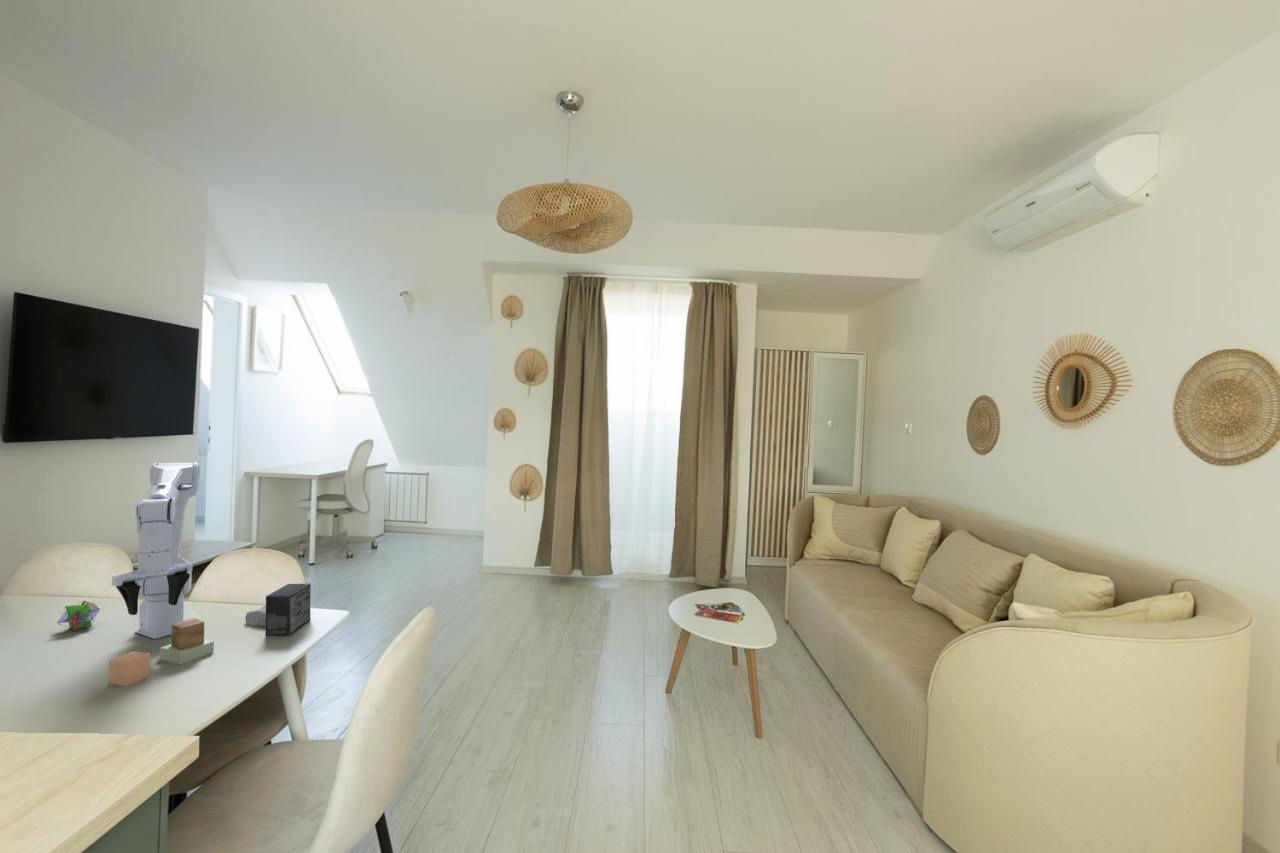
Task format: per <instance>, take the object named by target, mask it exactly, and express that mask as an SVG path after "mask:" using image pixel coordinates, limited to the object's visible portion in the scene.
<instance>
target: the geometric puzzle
mask: <svg viewBox="0 0 1280 853" xmlns="http://www.w3.org/2000/svg"><path fill="white" fill-rule="evenodd" d="M75 604H76V603H74V605H66V606H64V613H62V615H61V616H60V617H59V619H58V620H57V622H56V624H58V625H59V626H61V627H62V626H63V627H65V628H66V629H68V630H70V631H72V632H73V633H75V632H77V631H79V629H80V628H81V629H82V628H83V627H92V626H93V624H92V623H94V620H95V618H96V616H97V615H98V614H99V612H100V610H101V609H100V607H98V605H97V604H95V603H94V602H92V601H91V602H89V601H87V600H86V601H85V600H82V602H78V604H76V605H75ZM64 623H68V626H67V625H65V624H64Z"/></svg>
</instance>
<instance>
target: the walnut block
mask: <svg viewBox="0 0 1280 853" xmlns="http://www.w3.org/2000/svg"><path fill="white" fill-rule="evenodd" d="M170 635H171V636H170V637H171V638H170V640H171V641H170V644H171V646H173V647H175V648H177V649H180V650H182V649H186V648H189V647H193V646H196V645H199V644H203V643H204V639H205V621H203V620H200V619H198V618H197V617H196V618H195V617H194V618H193V617H192V618H191V619H185V620H183V621H181V622H178V623H174V624H172V627H171V634H170Z"/></svg>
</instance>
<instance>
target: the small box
mask: <svg viewBox="0 0 1280 853" xmlns="http://www.w3.org/2000/svg"><path fill="white" fill-rule="evenodd" d="M311 588H312V587H311V583H287V584H286V585H284V586H282V587H280V588H279V589H276V590H274V591H273V592H272V593H269V594H267V595H266V596H265V606H266V626H265V629H264V630H265V631H264V632H265V633H264V634H265V637H285V636H286V637H290V636H292V635H293V634H295V633H296V632H298V630H300V629H301V628H303V627H304V626H306V624H309V623H310V622H311V621H312V620H311V590H312V589H311Z"/></svg>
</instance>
